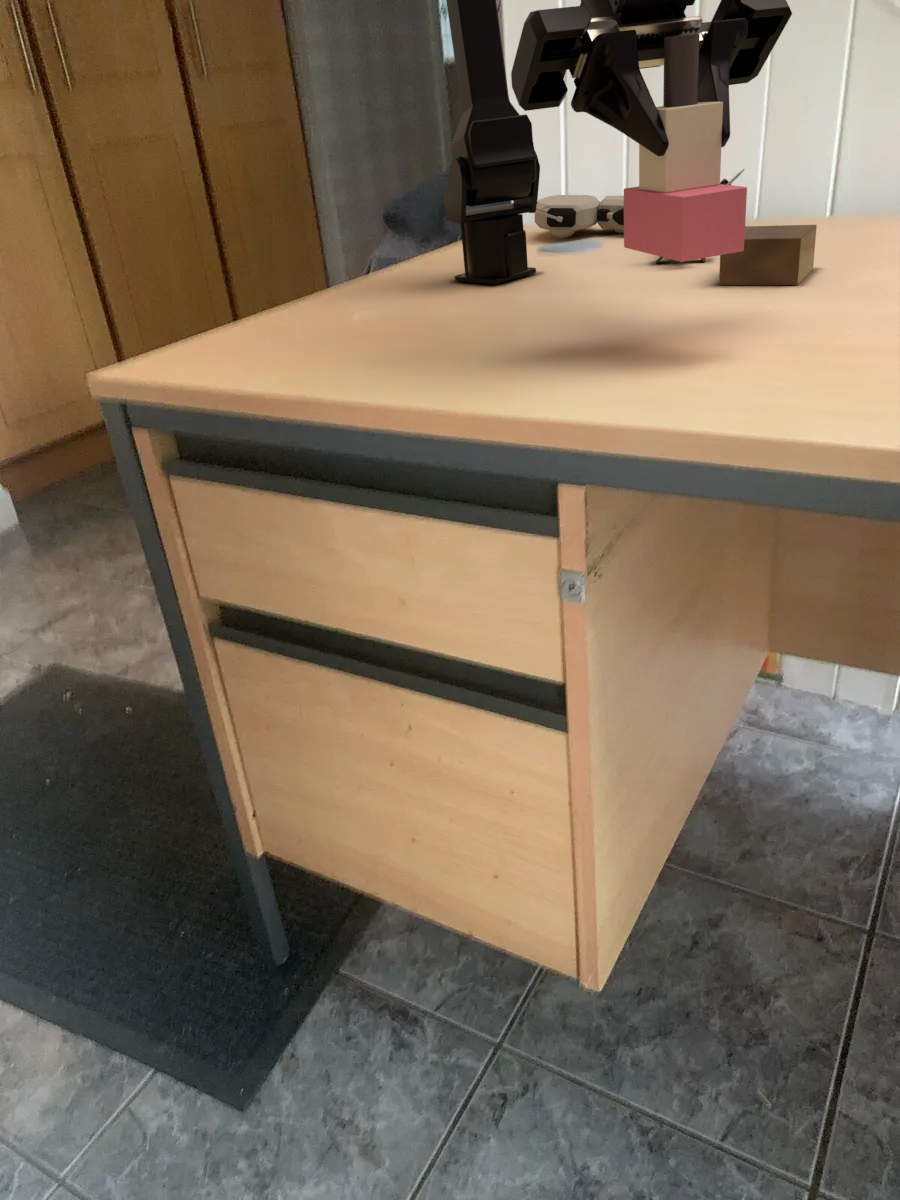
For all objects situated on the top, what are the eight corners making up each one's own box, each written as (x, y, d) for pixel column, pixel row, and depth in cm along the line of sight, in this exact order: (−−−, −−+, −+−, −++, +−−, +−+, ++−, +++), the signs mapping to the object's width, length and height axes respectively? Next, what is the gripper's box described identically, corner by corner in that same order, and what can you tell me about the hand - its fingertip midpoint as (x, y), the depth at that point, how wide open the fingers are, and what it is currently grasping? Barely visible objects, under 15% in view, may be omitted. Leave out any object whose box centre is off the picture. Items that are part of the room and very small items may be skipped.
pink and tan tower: (623, 247, 69) (622, 42, 63) (681, 237, 70) (686, 35, 64) (681, 262, 62) (685, 33, 56) (744, 251, 63) (755, 26, 57)
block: (718, 285, 87) (720, 239, 85) (738, 269, 92) (740, 226, 90) (797, 285, 84) (801, 238, 82) (813, 269, 89) (816, 224, 87)
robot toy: (654, 228, 125) (543, 226, 128) (657, 191, 122) (544, 190, 126) (646, 244, 115) (525, 242, 118) (649, 204, 112) (526, 203, 116)
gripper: (515, -147, 56) (604, 57, 52) (785, -163, 60) (885, 25, 56) (480, 19, 66) (552, 199, 62) (712, -4, 71) (793, 163, 67)
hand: (694, 146), depth 62 cm, fingers closed on pink and tan tower, 4 cm apart
